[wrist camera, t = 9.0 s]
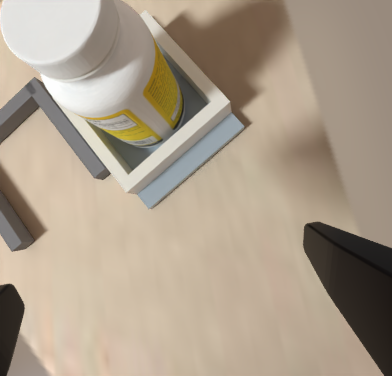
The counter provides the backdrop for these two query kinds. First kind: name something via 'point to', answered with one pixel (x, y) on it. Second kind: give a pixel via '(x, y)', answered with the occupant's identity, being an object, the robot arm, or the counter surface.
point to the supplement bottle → (98, 65)
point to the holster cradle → (39, 96)
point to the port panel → (177, 144)
